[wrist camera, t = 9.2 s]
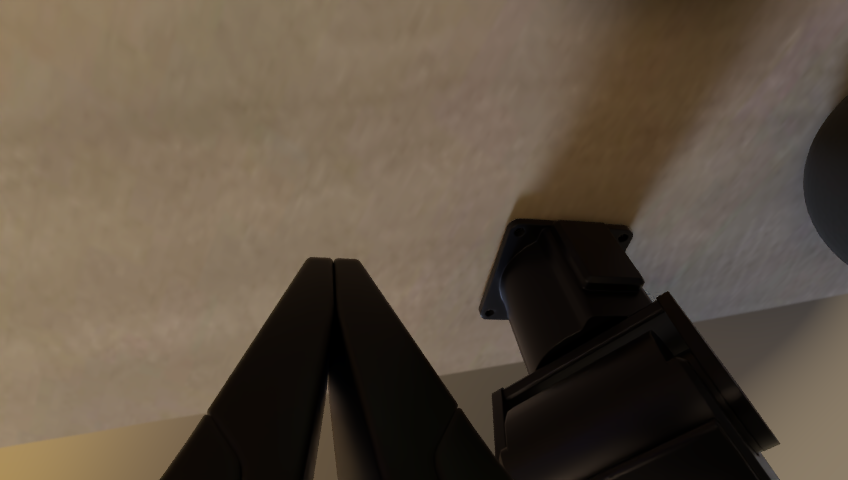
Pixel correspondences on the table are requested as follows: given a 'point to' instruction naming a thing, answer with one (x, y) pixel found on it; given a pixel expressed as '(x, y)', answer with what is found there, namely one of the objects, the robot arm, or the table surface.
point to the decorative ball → (830, 181)
